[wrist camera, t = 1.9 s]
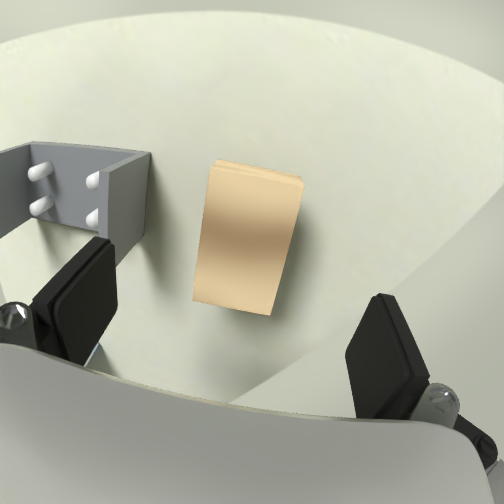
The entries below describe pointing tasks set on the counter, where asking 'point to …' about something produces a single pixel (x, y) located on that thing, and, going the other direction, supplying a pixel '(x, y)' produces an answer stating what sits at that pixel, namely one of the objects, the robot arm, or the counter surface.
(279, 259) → the tan wooden block
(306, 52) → the counter surface
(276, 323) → the counter surface
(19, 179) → the shelf frame
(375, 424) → the robot arm
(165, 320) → the counter surface
